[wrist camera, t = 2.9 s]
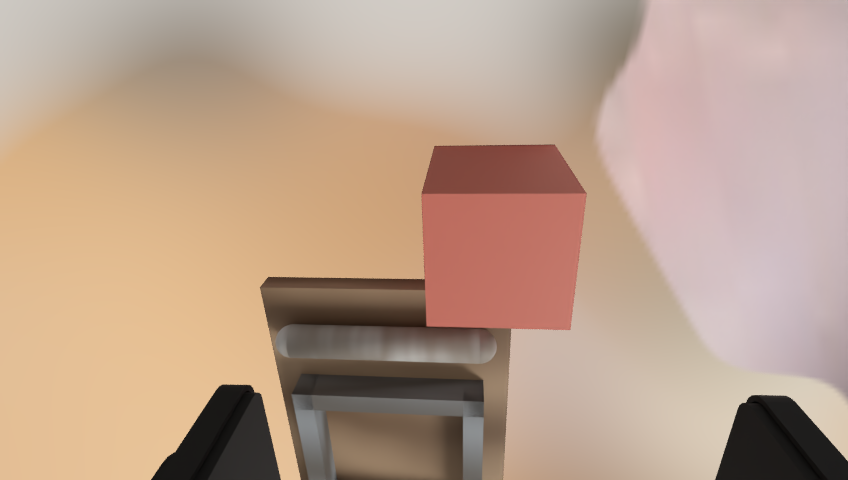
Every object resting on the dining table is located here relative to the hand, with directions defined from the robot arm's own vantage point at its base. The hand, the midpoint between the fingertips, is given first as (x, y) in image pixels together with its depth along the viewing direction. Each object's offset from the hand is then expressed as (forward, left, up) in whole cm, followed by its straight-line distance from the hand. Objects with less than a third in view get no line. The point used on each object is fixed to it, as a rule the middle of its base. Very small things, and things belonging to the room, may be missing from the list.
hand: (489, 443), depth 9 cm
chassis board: (+12, -4, -13) cm, 18 cm away
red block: (0, +1, -13) cm, 13 cm away
